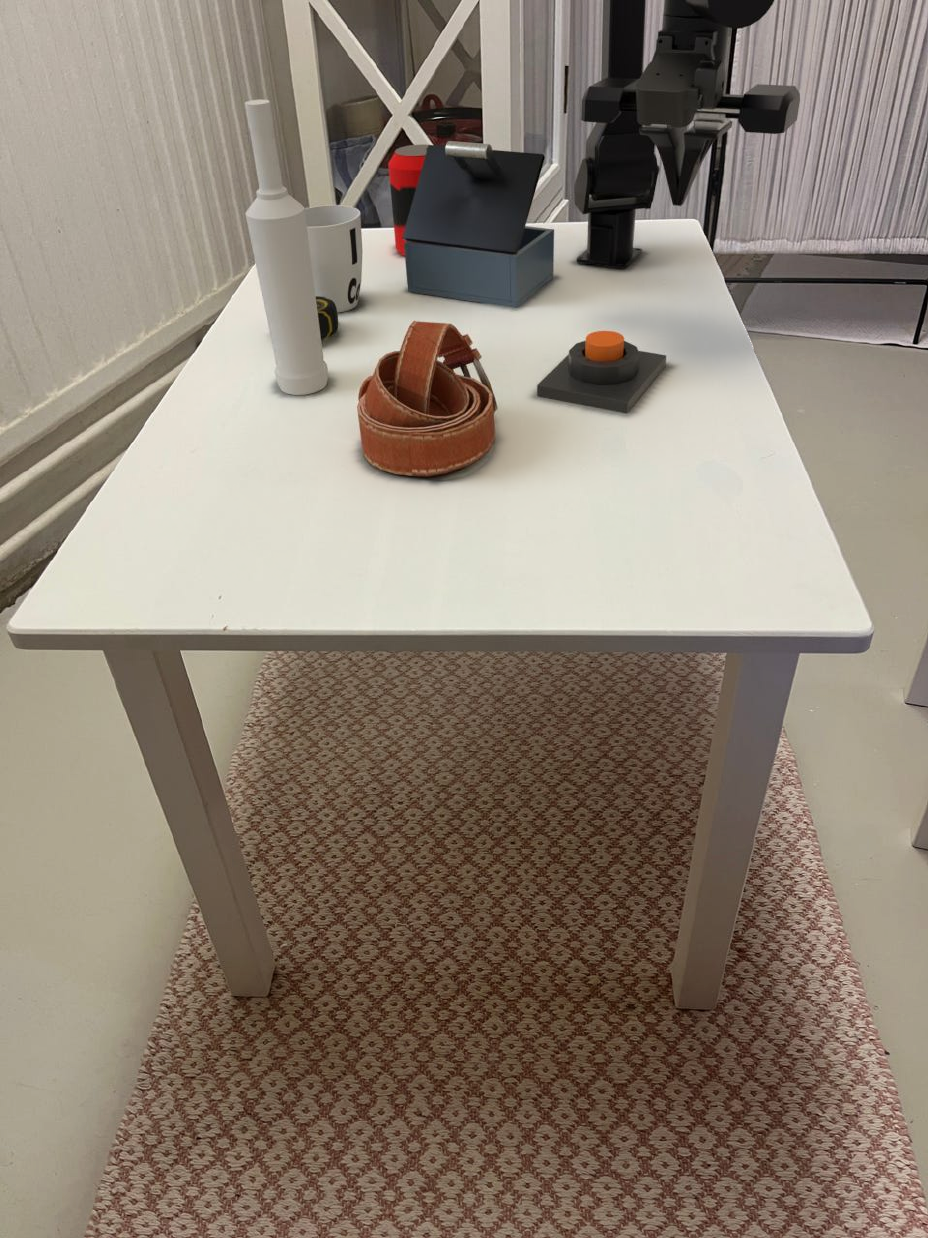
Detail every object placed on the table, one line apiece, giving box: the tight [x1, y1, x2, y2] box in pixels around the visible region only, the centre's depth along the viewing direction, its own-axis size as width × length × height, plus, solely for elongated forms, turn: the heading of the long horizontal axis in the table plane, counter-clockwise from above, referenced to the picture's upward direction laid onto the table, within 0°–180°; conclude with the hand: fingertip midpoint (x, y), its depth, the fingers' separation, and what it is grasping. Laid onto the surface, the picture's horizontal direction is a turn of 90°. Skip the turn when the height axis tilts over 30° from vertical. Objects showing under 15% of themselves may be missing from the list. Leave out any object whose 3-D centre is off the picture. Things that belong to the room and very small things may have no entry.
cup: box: [304, 204, 363, 314], centre depth 105 cm, size 8×8×10 cm
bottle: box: [244, 99, 329, 396], centre depth 84 cm, size 5×5×25 cm
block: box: [536, 339, 667, 414], centre depth 89 cm, size 11×9×3 cm
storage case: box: [404, 225, 555, 309], centre depth 110 cm, size 10×14×6 cm
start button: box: [585, 330, 625, 362], centre depth 88 cm, size 4×4×2 cm
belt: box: [356, 320, 499, 478], centre depth 79 cm, size 14×13×10 cm
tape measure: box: [316, 296, 340, 342], centre depth 100 cm, size 7×7×4 cm
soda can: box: [387, 144, 429, 257], centre depth 119 cm, size 8×8×12 cm
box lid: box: [402, 140, 546, 255], centre depth 102 cm, size 11×14×5 cm
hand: (678, 204), depth 89 cm, fingers closed
